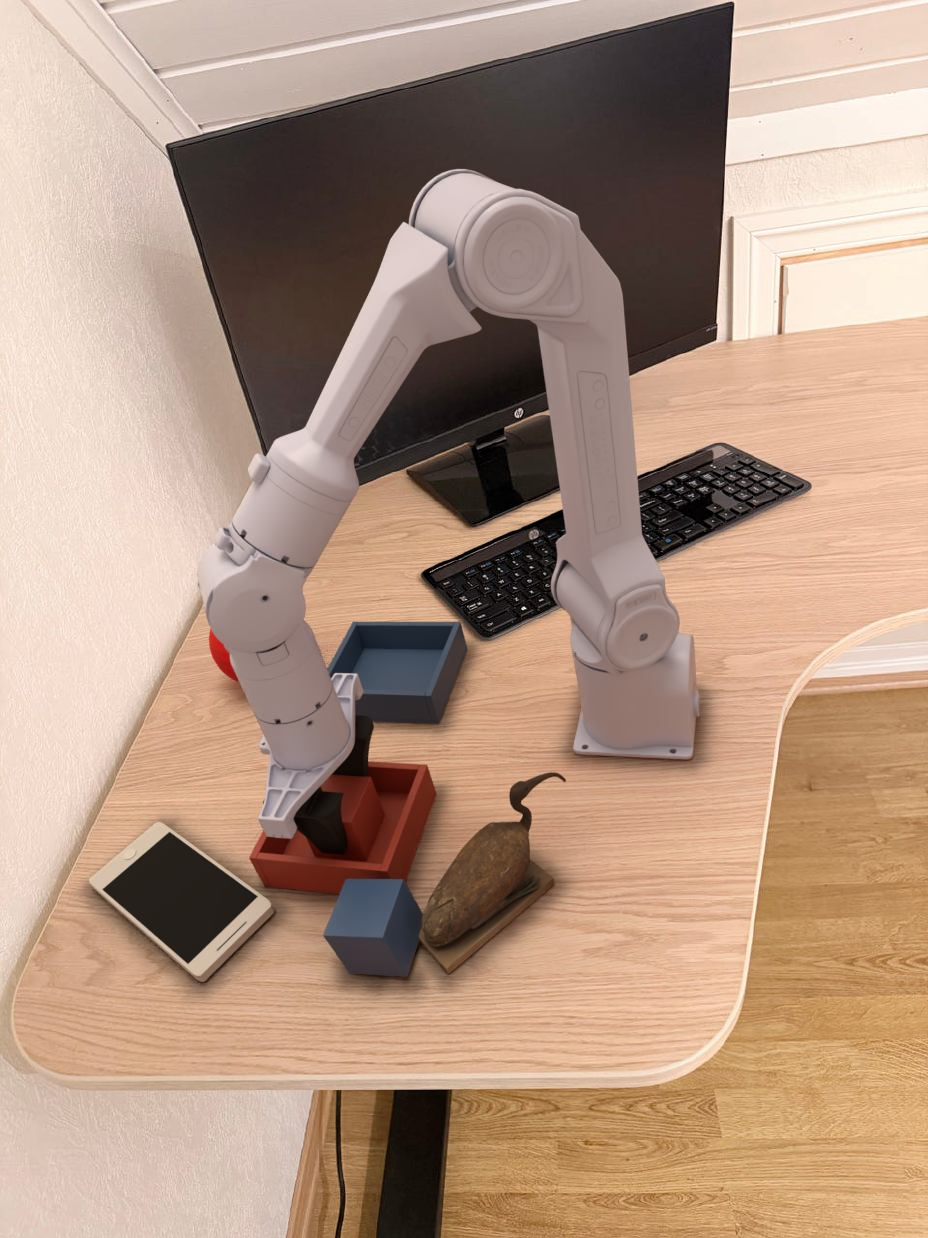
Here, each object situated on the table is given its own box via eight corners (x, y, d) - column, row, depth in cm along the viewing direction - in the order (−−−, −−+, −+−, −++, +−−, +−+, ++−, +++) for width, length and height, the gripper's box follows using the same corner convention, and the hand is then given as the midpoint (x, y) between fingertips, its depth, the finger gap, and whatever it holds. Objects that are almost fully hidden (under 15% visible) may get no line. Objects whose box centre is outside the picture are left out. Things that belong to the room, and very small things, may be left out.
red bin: (436, 793, 74) (427, 764, 72) (398, 901, 66) (387, 871, 64) (313, 785, 78) (300, 757, 75) (263, 886, 70) (248, 857, 68)
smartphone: (162, 826, 77) (158, 818, 77) (277, 910, 68) (273, 902, 67) (91, 887, 73) (85, 880, 73) (202, 985, 64) (197, 977, 63)
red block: (385, 815, 73) (371, 776, 70) (367, 861, 69) (351, 822, 67) (334, 811, 74) (318, 773, 71) (314, 856, 71) (296, 818, 68)
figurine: (555, 817, 70) (538, 737, 65) (596, 849, 67) (582, 768, 61) (410, 934, 64) (379, 857, 59) (449, 976, 61) (419, 897, 56)
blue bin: (467, 649, 88) (460, 621, 86) (439, 724, 80) (430, 695, 78) (362, 648, 92) (352, 621, 89) (325, 720, 84) (314, 692, 82)
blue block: (426, 918, 64) (403, 879, 62) (407, 977, 61) (382, 937, 58) (370, 917, 66) (345, 878, 63) (349, 974, 62) (322, 935, 60)
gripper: (282, 628, 69) (332, 752, 77) (193, 770, 59) (262, 897, 67) (367, 629, 67) (409, 756, 75) (290, 776, 56) (349, 907, 64)
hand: (345, 823), depth 71 cm, fingers closed on red block, 4 cm apart
